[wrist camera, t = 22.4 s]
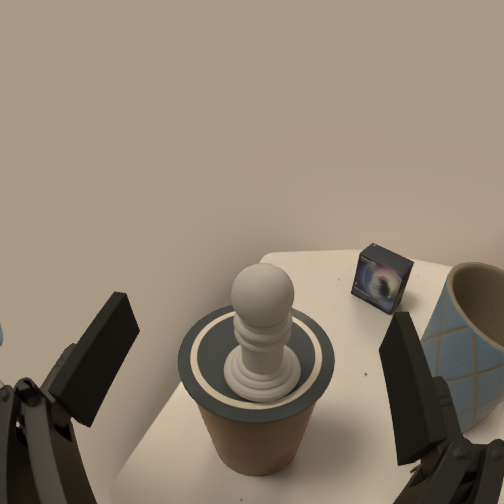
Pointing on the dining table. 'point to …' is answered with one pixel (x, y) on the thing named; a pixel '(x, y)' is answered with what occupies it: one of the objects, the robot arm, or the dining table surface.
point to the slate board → (224, 341)
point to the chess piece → (262, 335)
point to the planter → (469, 340)
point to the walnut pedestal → (256, 442)
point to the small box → (381, 277)
